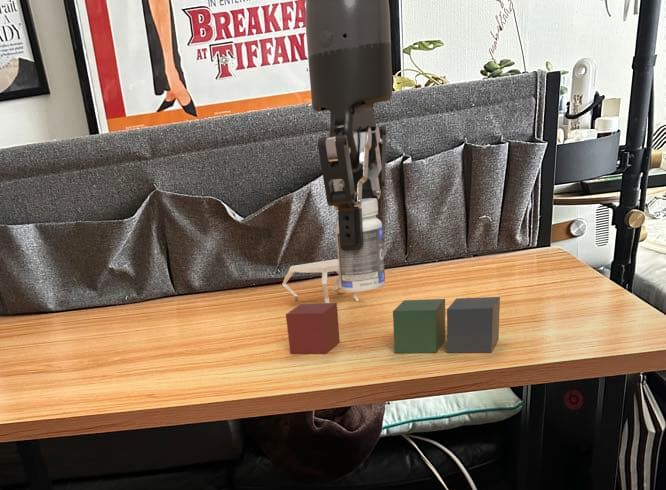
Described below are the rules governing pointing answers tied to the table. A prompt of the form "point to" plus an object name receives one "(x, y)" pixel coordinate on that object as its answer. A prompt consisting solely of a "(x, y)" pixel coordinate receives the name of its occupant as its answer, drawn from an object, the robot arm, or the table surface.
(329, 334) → the maroon block
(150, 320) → the table surface
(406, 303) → the green block
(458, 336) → the slate block
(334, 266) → the white legged frame
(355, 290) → the pill bottle
